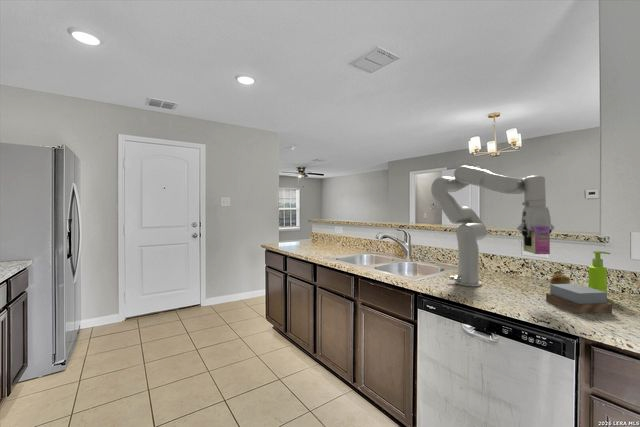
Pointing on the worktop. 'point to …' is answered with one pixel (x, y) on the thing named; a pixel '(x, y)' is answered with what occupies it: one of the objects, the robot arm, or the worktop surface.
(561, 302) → the tower base
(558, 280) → the onion
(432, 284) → the worktop surface
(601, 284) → the soap dispenser
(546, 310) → the worktop surface
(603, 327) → the worktop surface
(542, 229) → the box
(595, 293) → the tower top
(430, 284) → the worktop surface
